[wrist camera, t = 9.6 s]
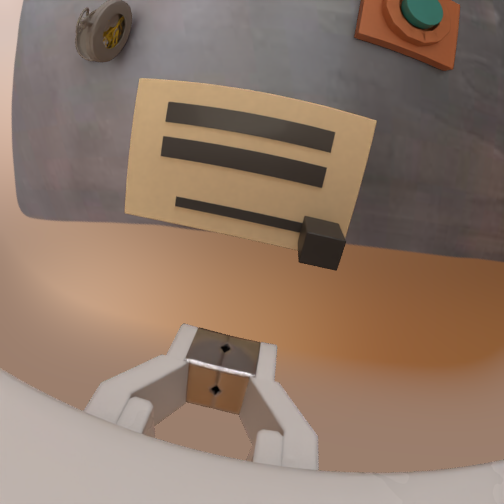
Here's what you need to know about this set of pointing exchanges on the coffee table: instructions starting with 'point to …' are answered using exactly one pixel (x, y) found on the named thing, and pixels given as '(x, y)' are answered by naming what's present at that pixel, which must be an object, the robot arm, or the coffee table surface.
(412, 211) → the coffee table surface
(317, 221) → the slider
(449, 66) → the control block
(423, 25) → the button
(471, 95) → the coffee table surface
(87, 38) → the pocket watch
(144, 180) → the striped tan box
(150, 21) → the coffee table surface
